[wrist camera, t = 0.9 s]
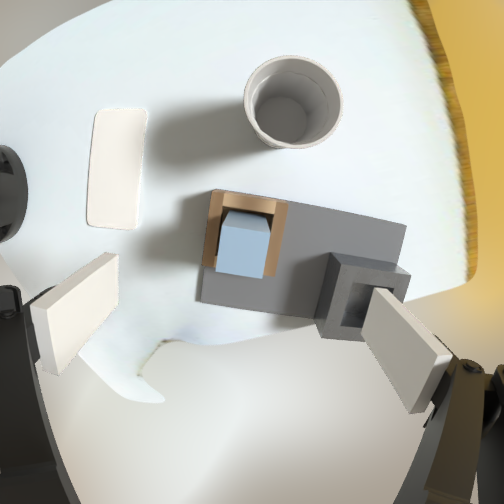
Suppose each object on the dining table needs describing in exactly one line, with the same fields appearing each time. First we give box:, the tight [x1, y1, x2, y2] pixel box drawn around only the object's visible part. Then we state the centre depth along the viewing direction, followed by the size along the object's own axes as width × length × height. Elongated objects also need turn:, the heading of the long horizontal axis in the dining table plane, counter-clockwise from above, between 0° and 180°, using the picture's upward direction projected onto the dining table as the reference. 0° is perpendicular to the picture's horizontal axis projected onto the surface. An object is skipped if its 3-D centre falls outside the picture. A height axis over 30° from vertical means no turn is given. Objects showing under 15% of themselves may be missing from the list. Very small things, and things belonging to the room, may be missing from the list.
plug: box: [215, 210, 271, 279], centre depth 31 cm, size 4×4×10 cm
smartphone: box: [87, 109, 147, 230], centre depth 35 cm, size 7×1×15 cm
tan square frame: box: [202, 189, 289, 277], centre depth 35 cm, size 8×8×4 cm
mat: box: [201, 189, 407, 318], centre depth 38 cm, size 24×14×1 cm, turn 81°
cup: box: [244, 55, 344, 149], centre depth 28 cm, size 8×8×12 cm
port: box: [313, 252, 411, 342], centre depth 36 cm, size 9×9×5 cm
